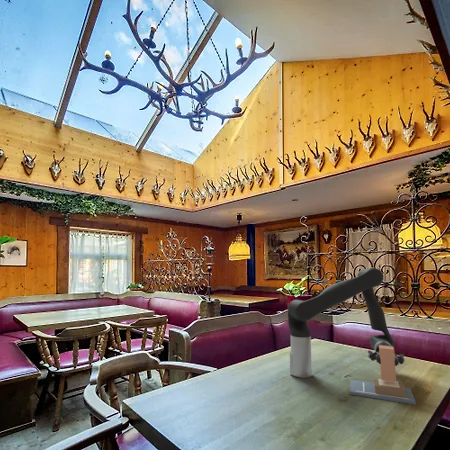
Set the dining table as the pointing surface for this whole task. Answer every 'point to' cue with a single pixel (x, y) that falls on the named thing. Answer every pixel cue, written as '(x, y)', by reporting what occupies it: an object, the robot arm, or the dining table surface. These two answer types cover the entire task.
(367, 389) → the blueprint board
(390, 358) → the terracotta pillar
